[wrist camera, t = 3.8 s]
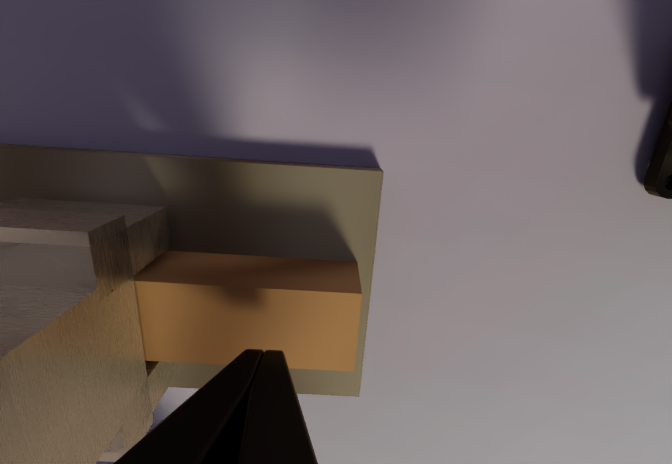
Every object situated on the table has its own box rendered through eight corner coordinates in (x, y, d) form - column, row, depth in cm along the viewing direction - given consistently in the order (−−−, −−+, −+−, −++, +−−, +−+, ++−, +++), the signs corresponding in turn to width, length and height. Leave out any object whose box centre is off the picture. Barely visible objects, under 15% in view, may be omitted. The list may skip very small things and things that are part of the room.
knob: (165, 196, 9) (-107, 322, 4) (182, 372, 11) (22, 640, 6) (17, 187, 9) (-500, 300, 4) (60, 366, 11) (-231, 630, 5)
